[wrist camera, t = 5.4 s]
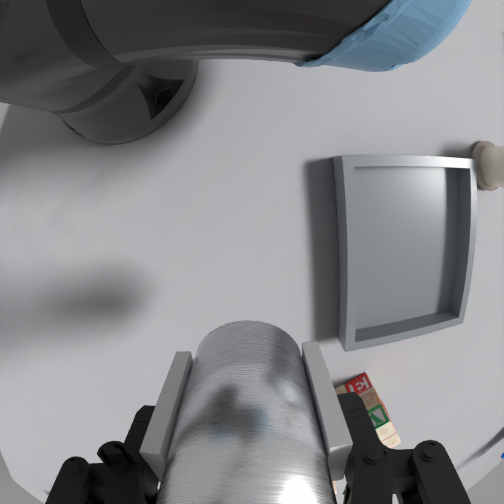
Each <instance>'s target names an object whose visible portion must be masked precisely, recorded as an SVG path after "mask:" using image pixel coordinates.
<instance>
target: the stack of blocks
mask: <svg viewBox="0 0 504 504" xmlns="http://www.w3.org/2000/svg"><path fill="white" fill-rule="evenodd" d="M353 391H354V392H355V393H356V394H358V395H359V396H360V397H361V398H362V400H363V402H364V404H365V406H366V409H367V411H368V413H369V416H370V418H371V420H372V423H373V425H374V427H375V430H376V432H377V434H378V437H379V439H380V441H381V442H382V443H383V444H384V445H385V446H387V447H388V448H393V447H394V446H396V445H398V444H400V443H401V441H400V438H399V436H398V434H397V432H396V430H395V428H394V425H393V423H392V421H391V419H390V417H389V415H388V412H387V410H386V408H385V406H384V404H383V402H382V401H381V400H380V398H379V396H378V394H377V392H376V390H375V388H374V386H373V384H372V382H371V380H370V378H369V377H368V375H367V373H364V374H362V375H360V376H359V377H357V378H355V379H353V380H351V381H350V382H348V383H346V384H345V385H344V384H343V385H341V386H339V387H337V388H335V392H336V395H338V394H343V393H348V392H353ZM332 483H333V488H334V492H335V494H337V490H336V484H335V481H332Z"/></svg>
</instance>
